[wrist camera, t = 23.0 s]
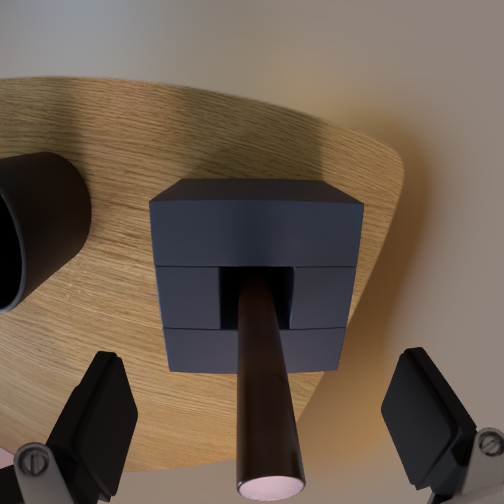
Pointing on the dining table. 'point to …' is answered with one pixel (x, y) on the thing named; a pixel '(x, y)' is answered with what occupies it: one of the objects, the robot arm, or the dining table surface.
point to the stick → (263, 398)
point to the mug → (38, 221)
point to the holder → (254, 254)
